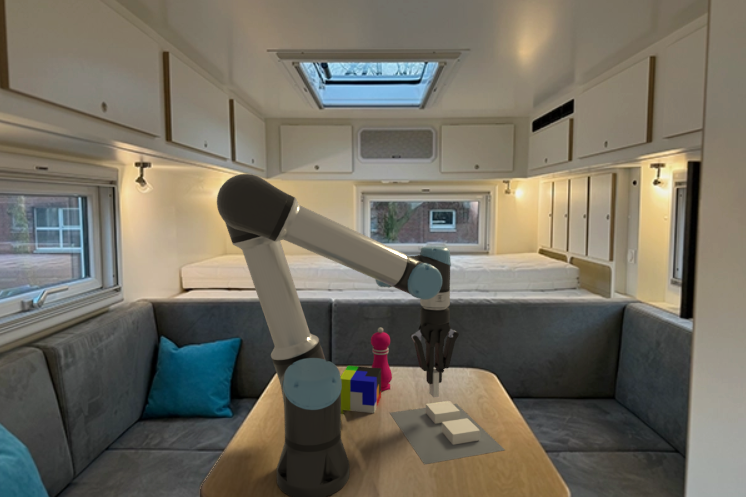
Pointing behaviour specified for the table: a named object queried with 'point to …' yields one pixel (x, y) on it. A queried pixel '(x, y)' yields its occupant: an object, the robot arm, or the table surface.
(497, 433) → the table surface
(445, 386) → the table surface
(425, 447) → the slate board
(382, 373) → the pepper mill
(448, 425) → the tile
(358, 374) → the puzzle toy
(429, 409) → the tile
